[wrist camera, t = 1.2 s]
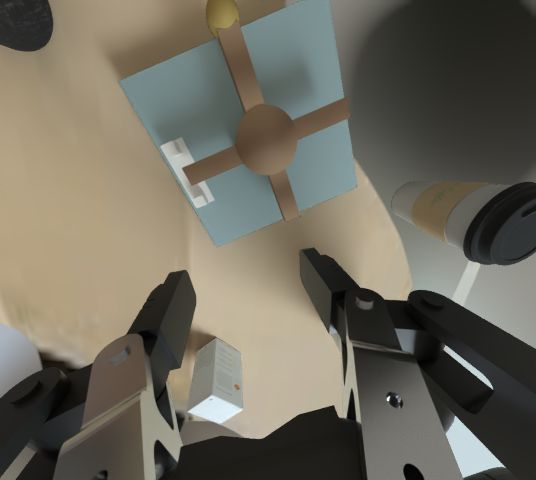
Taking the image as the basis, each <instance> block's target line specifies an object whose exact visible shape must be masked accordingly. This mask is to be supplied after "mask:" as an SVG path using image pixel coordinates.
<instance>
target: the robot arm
mask: <svg viewBox="0 0 536 480" xmlns="http://www.w3.org/2000/svg"><path fill="white" fill-rule="evenodd" d="M299 255H300V276H301V280H302V283H303V285H304V287H305V289H306V291H307V293H308V295H309V297H310V299H311V301H312V303H313V304H314V306H315V308H316V310H317V312H318V314H319V316H320V318H321V320H322V321H323V323H324V325H325V327H326V329H327V331H328V333H329V334H331V336H332V338H333V339H334V341H335V343H336V345H337V347H338V349H339V350H340V352H341V368H342V387H343V405H342V413H343V418H339V417H338V415H337V412H336V410H335V407H334V405H333V406H329V407H325V408H322V409H318V410H314V411H311V412H307V413H303V414H300V415H297V416H296V417H295V418H293V419H292V420H290V421H289V422H287V423H286V424H284V425H283V426H281V427H280V428H278V429H277V430H275V431H274V432H272V433H271V434H269V435H268V436H266V437H265V438H262V439H250V438H239V437H228V436H218V437H215V438H212V439H207V440H204V441H200V442H196V443H193V444H189V445H185V446H183V444H182V441H181V438H180V435H179V431H178V426H177V421H176V416H175V411H174V405H173V400H172V395H171V390H170V385H169V382H168V381H167V378H168V375H169V371H170V370H174V369H178V368H181V364H182V360H183V356H184V352H185V348H186V344H187V340H188V335H189V331H190V327H191V323H192V319H193V315H194V311H195V307H196V294H195V291H194V288H193V285H192V282H191V280H190V277H189V274H188V272H187V271H186V270H182V271H176V272H171V273H169V274H168V276H167V278H166V280H165V282H164V284H160V285H159V286H157V287H156V288H155V289H154V290H153V291H152V292H151V294H150V295H149V297H148V299H147V300H146V301H147V302H145V304H144V305H143V307H142V309H141V310H140V312H139V314H138V315H137V317H136V319H135V321H134V322H133V324H132V326H131V327H130V329H129V331H128V332H127V334H126V335H125V336H122V337H120V338H118V339H116V340H114V341H113V342H111V343H110V344H109V345H107V346H106V347H105V348H104V349H103V350H102V351H101V352H100V353H99V354H98V355H97V357H96V358H95V360H94V362H93V363H92V364H90V365H88V366H85V367H83V368H81V369H79V370H77V371H74V372H72V373H70V374H68V375H65V374H64V373H63V372H62V371H61V370H60V369H58V368H56V367H52V368H47V369H44V370H41V371H39V372H37V373H34V374H32V375H31V376H29V377H27V378H26V379H24V380H23V381H21V382H19V383H18V384H17V385H15V386H14V387H13V388H12V389H10V390H9V391H8V392H7V393H6V394H5V395H3V397H1V398H0V477H1V476H2V475H3V474H4V472H5V471H6V470H7V469H8V467H9V466H10V465H11V464H12V462H13V461H14V460H15V458H16V457H17V456H18V455H19V453H20V452H21V451H22V450H23V449H24V447H25V446H27V447H28V448H30V449H32V450H33V451H35V452H36V453H35V454H34V456H33V457H32V459H31V460H30V461H29V462H28V464H27V465H26V466H25V468H24V469H23V470H22V472H21V473H20V475H19V476H18V477H17V478H16V480H536V349H535V348H533V347H531V346H530V345H528V344H526V343H524V342H523V341H521V340H519V339H518V338H516V337H514V336H512V335H511V334H509V333H507V332H505V331H504V330H502V329H500V328H499V327H497V326H495V325H493V324H492V323H490V322H488V321H486V320H485V319H482V318H481V317H479V316H478V315H476V314H474V313H473V312H471V311H469V310H467V309H466V308H464V307H462V306H461V305H459V304H457V303H455V302H454V301H452V300H450V299H449V298H447V297H445V296H443V295H441V294H438V293H435V292H432V291H427V290H416V291H413V292H411V293H410V294H409V296H408V299H407V301H401V300H384V299H383V297H382V296H381V295H379V294H378V293H376V292H374V291H372V290H370V289H366V288H360V287H359V286H358V285H357V284H356V282H355V281H354V280H353V279H352V278H351V277H350V276H349V275H348V274H347V273H346V272H345V271H343V269H342V268H341V267H340V266H339V265H338V263H337V262H336V261H335V260H334V259H333V258H331V257H329V256H327V255H320V254H319V253H318V251H317V250H316V249H315V248H308V249H302V250H300V253H299ZM445 345H446V346H448V347H449V348H450V349H452V350H453V351H454V352H455V353H457V354H458V355H459V356H461V357H462V358H463V359H464V360H466V361H467V362H468V363H470V364H471V365H472V366H473V367H475V368H476V369H477V370H479V371H480V372H481V373H482V374H484V376H485V377H486V378H487V379H488V380H489V381H490V383H491V385H492V386H493V390H492V389H491V388H490V387H489V386H487V385H486V384H485V383H484V382H482V381H481V380H480V379H479V378H477V377H476V376H475V375H474V374H472V373H471V372H470V371H469V370H467V369H466V368H465V367H463V366H462V365H461V364H460V363H459V362H458V361H456V360H455V359H454V358H453V357H451V356H450V355H449V354H448V353H446V352H445V351H444V350H443V349H444V347H445ZM455 416H457V417H458V419H459V420H460V421H461V422H462V423H463V424H464V425H465V426H466V427H467V428H468V429H469V430H470V431H471V432H472V433H473V434H474V435H475V436H476V437H477V438H478V439H479V440H480V441H481V442H482V443H483V444H484V445H485V446H486V447H487V448H488V449H489V450H490V452H491V453H492V454H493V455H494V456H495V457H496V458H497V459H498V460H499V461H500V462H501V463H502V464H503V465H504V466H505V467H506V468H504V467H497V468H492V469H488V470H485V471H482V472H479V473H476V474H473V475H471V476H468V477H465V478H463V477H462V474H461V472H460V469H459V467H458V465H457V462H456V459H455V457H454V454H453V452H452V449H451V447H450V444H449V442H448V439H447V437H446V432H447V431H448V430H449V428H450V427H451V425H452V423H453V421H454V417H455Z"/></svg>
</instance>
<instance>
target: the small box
mask: <svg viewBox="0 0 536 480" xmlns="http://www.w3.org/2000/svg"><path fill="white" fill-rule="evenodd" d="M242 410H243V386H242V366H241V353H240V352H238V351H237V350H235V349H233V348H232V347H230V346H229V345H227V344H226V343H224V342H223V341H221V340H219V339H218V338H215V339H213V340H212V341H210V342H209V343H208V344H206V345H205V346H204V347H202V348H201V349H199V350H198V351H197V353H196V359H195V365H194V371H193V377H192V383H191V389H190V394H189V400H188V406H187V412H189V413H192V414H194V415H197V416H200V417H202V418H205V419H208V420H211V421H214V422H216V423H219V424H221V423H223V422H224V421H226V420H227V419H229V418H231V417H232V416H234V415H235V414H237V413H239V412H240V411H242Z"/></svg>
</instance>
